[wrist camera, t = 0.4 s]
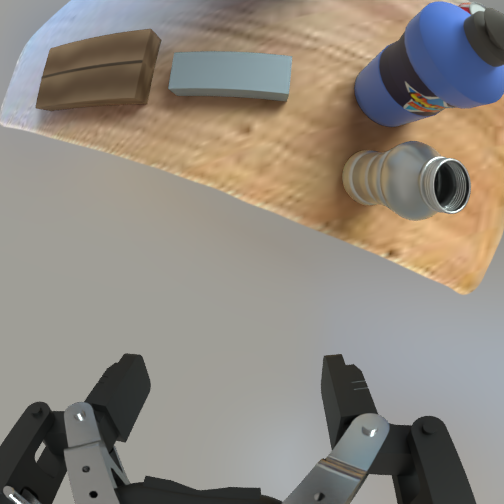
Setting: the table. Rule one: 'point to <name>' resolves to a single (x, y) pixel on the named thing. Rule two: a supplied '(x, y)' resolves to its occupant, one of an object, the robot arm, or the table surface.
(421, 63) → the water bottle
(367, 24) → the table surface
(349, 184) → the plastic bottle
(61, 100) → the floorboards
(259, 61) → the slate plank
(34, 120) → the table surface
